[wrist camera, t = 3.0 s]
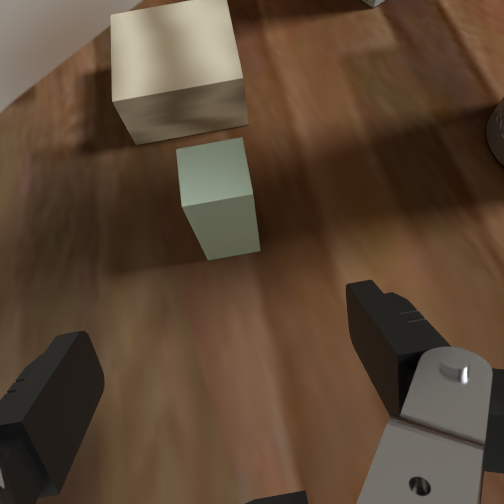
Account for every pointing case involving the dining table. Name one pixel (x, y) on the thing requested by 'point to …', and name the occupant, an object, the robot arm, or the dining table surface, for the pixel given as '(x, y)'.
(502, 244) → the dining table surface
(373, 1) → the coffee box
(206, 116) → the maple block
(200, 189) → the sage block
